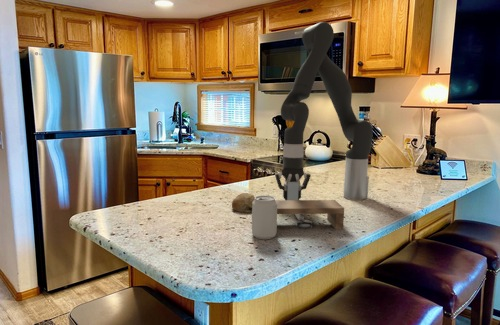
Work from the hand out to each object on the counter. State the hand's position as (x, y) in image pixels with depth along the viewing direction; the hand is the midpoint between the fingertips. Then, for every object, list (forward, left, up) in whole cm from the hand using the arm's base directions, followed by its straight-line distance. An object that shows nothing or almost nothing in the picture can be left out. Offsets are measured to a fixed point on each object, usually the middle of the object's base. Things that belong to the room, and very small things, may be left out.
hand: (291, 199), depth 141 cm
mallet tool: (0, +9, -3) cm, 9 cm away
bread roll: (+18, +1, -4) cm, 19 cm away
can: (+14, +30, -3) cm, 33 cm away
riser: (0, +20, -3) cm, 20 cm away
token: (0, +22, -3) cm, 22 cm away
